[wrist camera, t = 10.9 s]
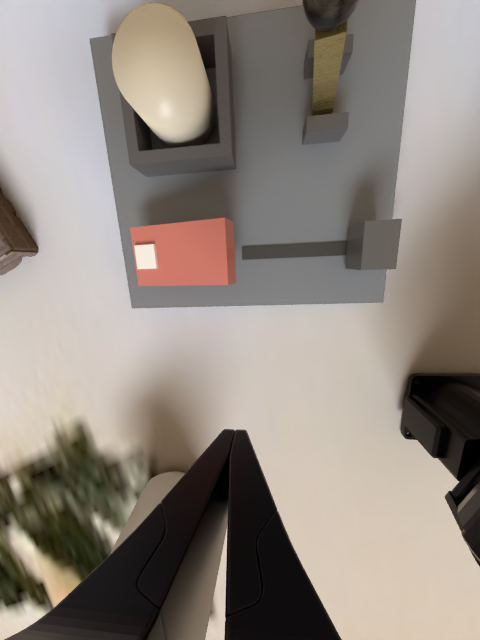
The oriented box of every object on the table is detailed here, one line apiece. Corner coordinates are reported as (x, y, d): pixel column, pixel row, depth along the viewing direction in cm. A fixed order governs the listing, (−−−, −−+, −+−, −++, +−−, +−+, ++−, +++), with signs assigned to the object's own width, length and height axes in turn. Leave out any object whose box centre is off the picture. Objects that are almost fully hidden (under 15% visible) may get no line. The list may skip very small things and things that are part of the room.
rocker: (233, 221, 15) (223, 217, 14) (236, 282, 16) (227, 285, 15) (145, 230, 17) (127, 227, 16) (152, 283, 18) (136, 286, 17)
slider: (378, 226, 16) (401, 218, 13) (374, 267, 17) (395, 268, 14) (347, 227, 16) (365, 220, 13) (345, 268, 17) (360, 270, 14)
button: (213, 66, 14) (194, -5, 10) (217, 148, 15) (202, 110, 12) (145, 76, 15) (104, 10, 11) (154, 154, 16) (119, 120, 12)
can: (141, 466, 26) (45, 627, 15) (204, 463, 25) (154, 633, 14) (156, 517, 28) (81, 696, 16) (216, 516, 27) (181, 706, 15)
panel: (405, 21, 15) (458, -68, 11) (377, 298, 19) (407, 307, 15) (109, 63, 17) (61, 2, 13) (143, 304, 21) (115, 313, 17)
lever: (342, 73, 14) (380, -122, 7) (340, 116, 14) (372, -22, 7) (304, 82, 14) (302, -88, 7) (303, 123, 15) (300, 2, 8)
